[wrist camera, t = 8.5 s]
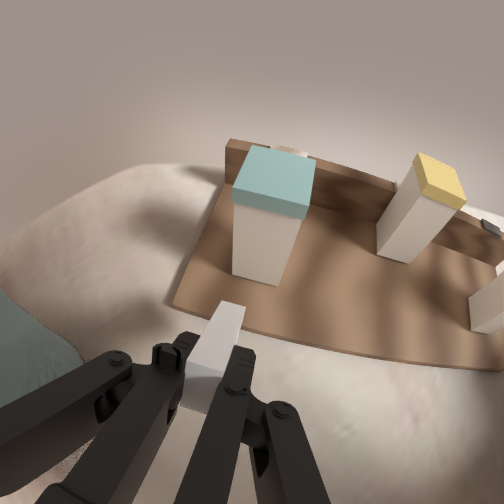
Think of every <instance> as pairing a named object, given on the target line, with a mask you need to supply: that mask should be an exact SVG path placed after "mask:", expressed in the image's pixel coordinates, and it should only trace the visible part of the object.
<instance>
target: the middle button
mask: <svg viewBox="0 0 504 504" xmlns="http://www.w3.org/2000/svg"><path fill="white" fill-rule="evenodd" d="M466 201H467V200H466V197H465V195H464V192H463V189H462V187H461V184H460V182H459V179H458V177H457V174H456V172H455V169H453V168H451V167H449V166H447V165H446V164H443V163H441V162H439V161H437V160H435V159H433V158H431V157H429V156H426V155H424V154H422V153H420V152H418V153H417V155H416V156H415V158H414V160H413V165H412V167H411V169H410V170H409V172H408V174H407V175H406V177H405V179H404V181H403V182H402V184H401V186H400V187H399V189H398V191H397V192H396V194H395V195H394V197H393V199H392V200H391V202H390V204H389V205H388V207H387V208H386V210H385V212H384V213H383V215H382V216H381V218H380V219H379V221H378V222H377V224H376V232H377V255H380V256H383V257H387V258H390V259H394V260H397V261H400V262H404V263H407V264H410V263H411V262H412V261H413V260H414V259H415V258H416V257H417V256H418V255H419V253H420V252H421V251H422V250H423V249H424V248H425V247H426V246H427V245H428V244H429V243H430V242H431V240H432V239H433V238H434V237H435V236H436V235H437V234H438V233H439V231H440V230H441V229H442V228H443V227H444V226H445V225H446V223H447V222H448V221H449V220H450V219H451V217H452V216H453V215H454V214H455V213H456V211H457V210H460V209H461V208H462V207H463V205H464V204H465V203H466Z"/></svg>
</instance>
